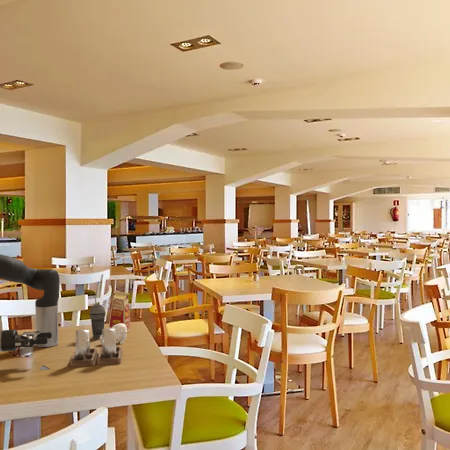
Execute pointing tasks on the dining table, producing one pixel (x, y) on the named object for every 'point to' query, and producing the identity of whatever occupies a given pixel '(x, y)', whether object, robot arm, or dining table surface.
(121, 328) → the white animal figurine
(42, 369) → the rubber mat
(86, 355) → the steel billet
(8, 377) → the dining table surface
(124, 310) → the milk carton
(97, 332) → the beverage cup
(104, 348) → the cylinder
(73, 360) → the tray
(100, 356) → the tray
